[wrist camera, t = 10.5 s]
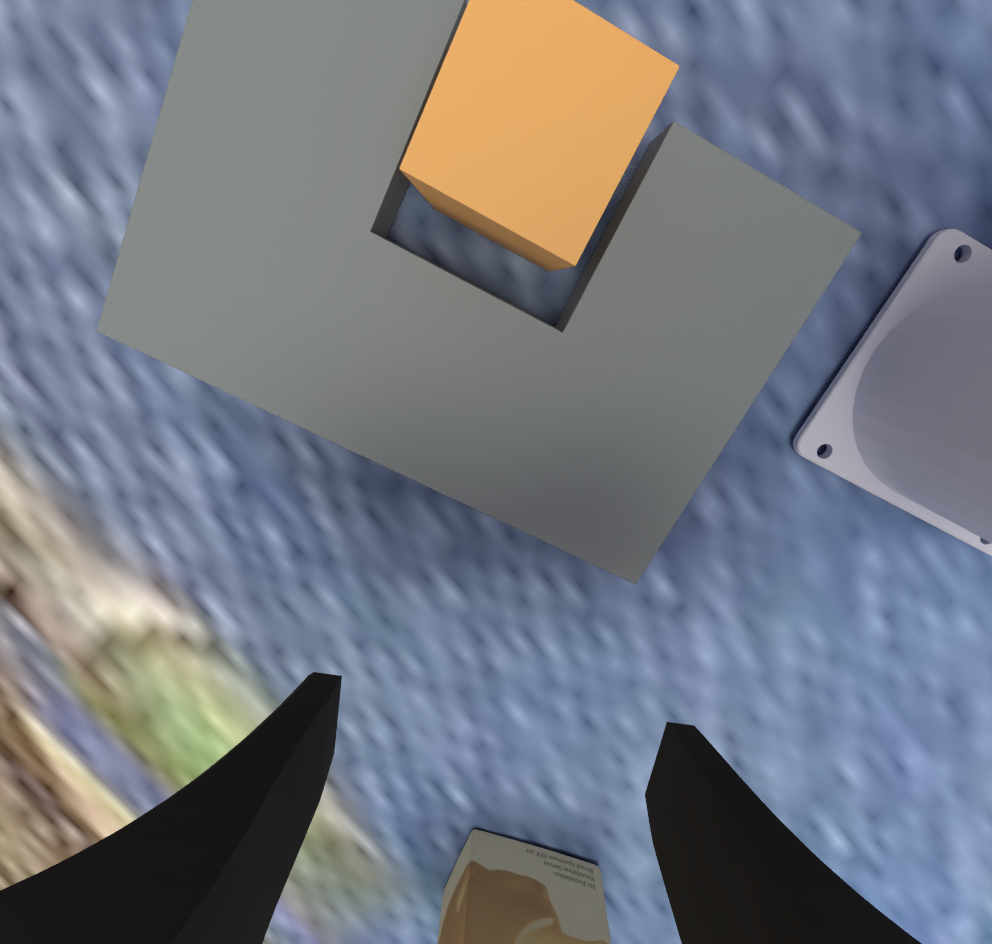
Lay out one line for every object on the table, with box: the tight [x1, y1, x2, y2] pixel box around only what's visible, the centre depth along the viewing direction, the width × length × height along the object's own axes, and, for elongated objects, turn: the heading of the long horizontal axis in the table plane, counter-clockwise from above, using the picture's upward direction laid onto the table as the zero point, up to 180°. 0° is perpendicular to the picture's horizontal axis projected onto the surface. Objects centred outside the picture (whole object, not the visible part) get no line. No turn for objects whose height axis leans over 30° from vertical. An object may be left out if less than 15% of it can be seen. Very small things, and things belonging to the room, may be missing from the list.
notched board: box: [97, 0, 862, 584], centre depth 18 cm, size 18×12×2 cm, turn 63°
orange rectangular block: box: [399, 0, 680, 272], centre depth 15 cm, size 4×4×7 cm
